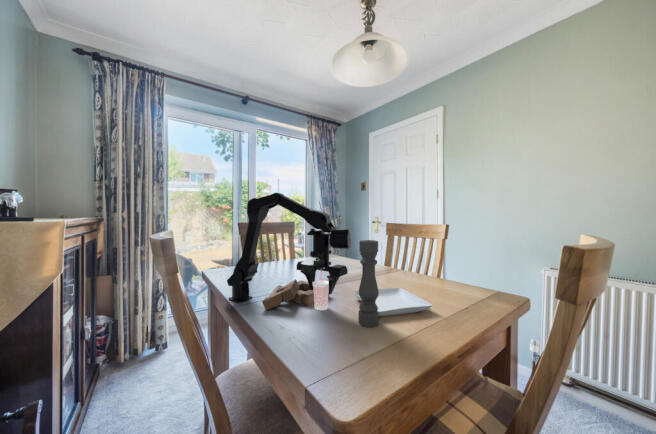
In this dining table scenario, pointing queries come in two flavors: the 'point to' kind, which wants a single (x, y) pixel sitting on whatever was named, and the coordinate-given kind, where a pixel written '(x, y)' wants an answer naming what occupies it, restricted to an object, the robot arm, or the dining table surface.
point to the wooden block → (281, 295)
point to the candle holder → (368, 284)
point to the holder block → (304, 294)
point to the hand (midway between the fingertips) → (321, 292)
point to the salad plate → (397, 302)
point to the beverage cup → (321, 293)
